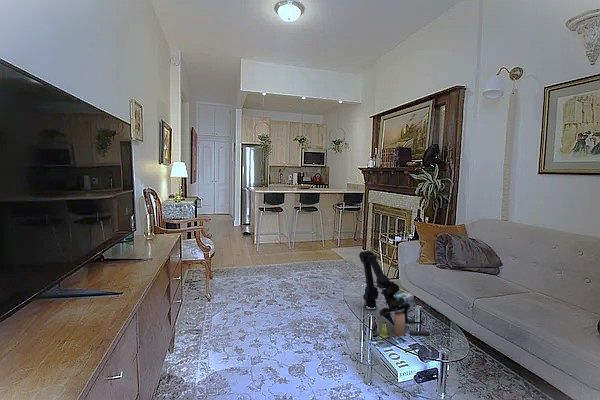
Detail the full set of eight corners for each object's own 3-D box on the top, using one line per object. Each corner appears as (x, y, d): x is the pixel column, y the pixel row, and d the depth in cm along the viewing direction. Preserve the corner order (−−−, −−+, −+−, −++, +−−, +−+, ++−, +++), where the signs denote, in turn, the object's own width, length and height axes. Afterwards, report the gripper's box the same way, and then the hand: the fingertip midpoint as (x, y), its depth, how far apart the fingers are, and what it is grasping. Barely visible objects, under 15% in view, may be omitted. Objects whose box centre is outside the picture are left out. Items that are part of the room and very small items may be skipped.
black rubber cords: (410, 335, 191) (410, 332, 191) (404, 321, 206) (404, 318, 206) (430, 335, 190) (430, 332, 190) (422, 321, 205) (422, 318, 205)
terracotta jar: (395, 336, 192) (395, 317, 190) (393, 330, 198) (393, 311, 195) (405, 336, 191) (405, 317, 189) (403, 330, 197) (403, 311, 195)
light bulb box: (402, 314, 215) (402, 299, 213) (394, 310, 221) (394, 295, 219) (413, 310, 220) (414, 295, 218) (406, 306, 225) (406, 291, 224)
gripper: (381, 296, 191) (392, 323, 183) (408, 290, 197) (420, 316, 188) (374, 303, 200) (384, 328, 192) (400, 297, 206) (411, 322, 197)
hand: (400, 323), depth 192 cm, fingers open, 9 cm apart
